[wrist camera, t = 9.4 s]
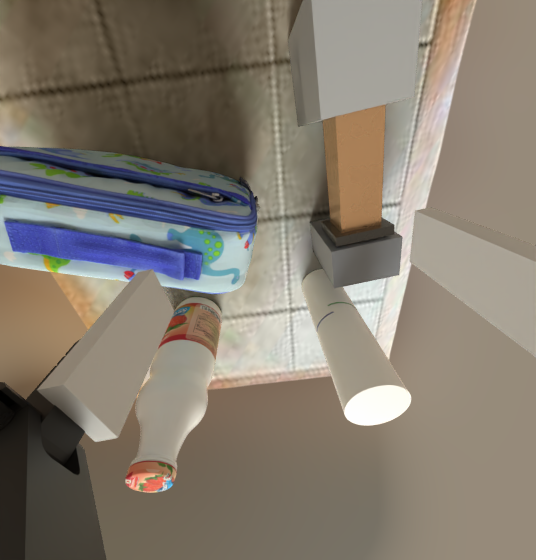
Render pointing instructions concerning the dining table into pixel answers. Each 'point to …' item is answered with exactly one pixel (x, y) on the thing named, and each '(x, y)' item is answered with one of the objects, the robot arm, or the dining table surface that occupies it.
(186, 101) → the dining table surface
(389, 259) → the socket
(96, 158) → the lunch box
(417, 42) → the sleeve
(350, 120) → the square peg
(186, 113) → the dining table surface
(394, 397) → the cylindrical container
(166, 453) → the fruit juice
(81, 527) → the robot arm
